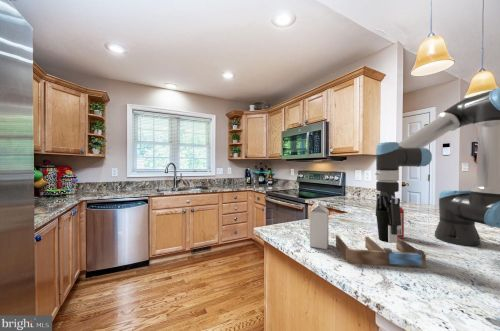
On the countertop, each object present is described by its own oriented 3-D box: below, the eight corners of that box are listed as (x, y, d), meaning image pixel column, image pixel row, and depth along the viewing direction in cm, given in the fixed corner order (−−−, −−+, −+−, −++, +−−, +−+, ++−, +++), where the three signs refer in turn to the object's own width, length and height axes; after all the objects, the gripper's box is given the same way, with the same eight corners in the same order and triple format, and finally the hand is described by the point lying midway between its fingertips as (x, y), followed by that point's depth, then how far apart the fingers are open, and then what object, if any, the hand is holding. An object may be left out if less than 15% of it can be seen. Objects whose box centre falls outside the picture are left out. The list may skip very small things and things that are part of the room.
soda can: (397, 240, 96) (397, 208, 96) (380, 235, 103) (380, 205, 103) (407, 238, 99) (407, 206, 99) (390, 233, 107) (390, 203, 107)
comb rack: (399, 249, 86) (398, 235, 86) (426, 268, 70) (426, 252, 70) (335, 245, 90) (335, 232, 90) (347, 263, 73) (347, 248, 73)
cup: (402, 244, 78) (402, 212, 78) (380, 243, 80) (380, 211, 80) (393, 237, 86) (393, 208, 86) (372, 236, 87) (372, 207, 87)
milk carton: (328, 244, 92) (328, 201, 92) (327, 249, 86) (327, 203, 86) (312, 241, 95) (311, 200, 95) (309, 247, 89) (309, 202, 89)
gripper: (366, 179, 93) (366, 230, 93) (390, 183, 73) (390, 248, 73) (384, 179, 92) (384, 231, 92) (413, 183, 72) (413, 249, 72)
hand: (387, 238), depth 83 cm, fingers closed on cup, 8 cm apart
